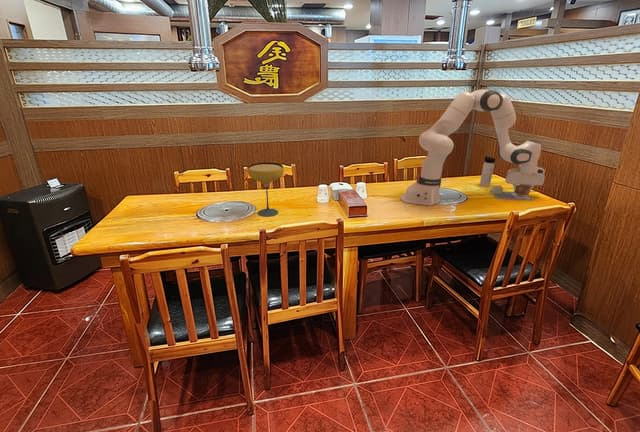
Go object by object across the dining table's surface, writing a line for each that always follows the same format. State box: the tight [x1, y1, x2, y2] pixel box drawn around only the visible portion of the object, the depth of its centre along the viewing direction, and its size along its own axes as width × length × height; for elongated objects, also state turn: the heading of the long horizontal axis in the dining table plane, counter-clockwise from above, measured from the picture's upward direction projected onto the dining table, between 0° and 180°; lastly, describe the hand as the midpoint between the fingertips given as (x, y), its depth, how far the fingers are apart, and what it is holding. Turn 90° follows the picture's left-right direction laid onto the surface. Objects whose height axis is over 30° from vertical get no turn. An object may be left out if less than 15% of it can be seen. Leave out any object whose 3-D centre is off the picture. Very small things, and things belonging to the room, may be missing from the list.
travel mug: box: [479, 155, 496, 188], centre depth 224 cm, size 6×7×20 cm
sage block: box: [490, 184, 504, 195], centre depth 213 cm, size 5×5×4 cm
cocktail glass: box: [247, 162, 285, 218], centre depth 178 cm, size 18×18×25 cm
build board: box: [489, 190, 534, 202], centre depth 209 cm, size 20×15×1 cm
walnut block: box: [513, 184, 531, 196], centre depth 207 cm, size 6×6×4 cm
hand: (521, 191), depth 207 cm, fingers closed on walnut block, 6 cm apart
